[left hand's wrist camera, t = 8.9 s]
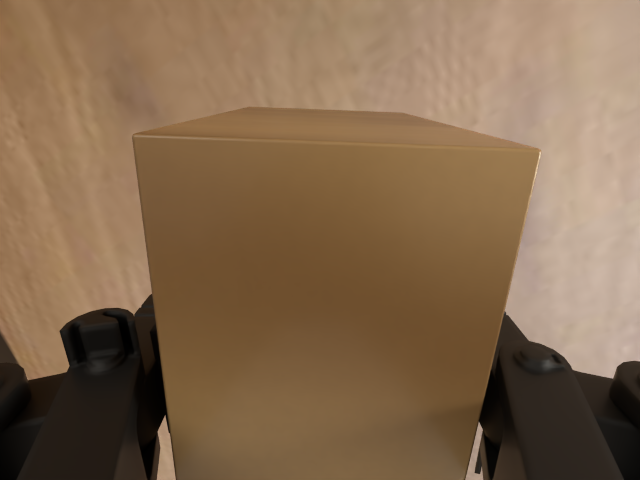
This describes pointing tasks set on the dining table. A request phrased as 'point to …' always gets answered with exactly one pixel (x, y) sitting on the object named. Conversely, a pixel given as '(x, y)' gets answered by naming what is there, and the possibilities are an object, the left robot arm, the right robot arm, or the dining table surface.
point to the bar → (328, 288)
